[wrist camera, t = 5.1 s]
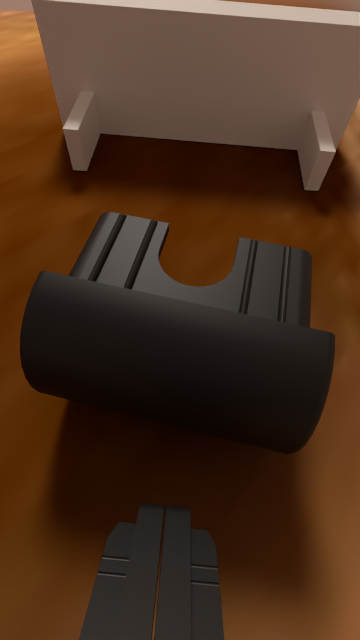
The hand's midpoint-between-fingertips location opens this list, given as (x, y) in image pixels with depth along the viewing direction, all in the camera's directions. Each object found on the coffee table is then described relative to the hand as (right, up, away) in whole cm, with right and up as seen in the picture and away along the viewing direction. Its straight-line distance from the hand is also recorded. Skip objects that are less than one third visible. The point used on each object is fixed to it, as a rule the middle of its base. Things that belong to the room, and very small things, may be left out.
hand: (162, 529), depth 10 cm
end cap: (0, +4, +7) cm, 8 cm away
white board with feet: (+2, +19, +17) cm, 26 cm away
